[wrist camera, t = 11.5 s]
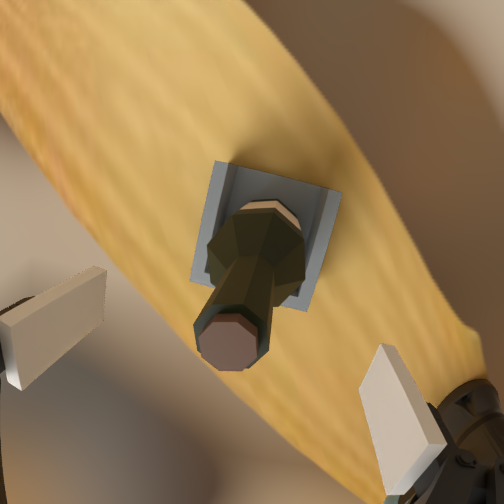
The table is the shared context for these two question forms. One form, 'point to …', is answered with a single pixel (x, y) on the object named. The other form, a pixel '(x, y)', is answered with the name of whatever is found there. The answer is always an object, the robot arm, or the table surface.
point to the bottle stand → (268, 187)
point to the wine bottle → (249, 282)
